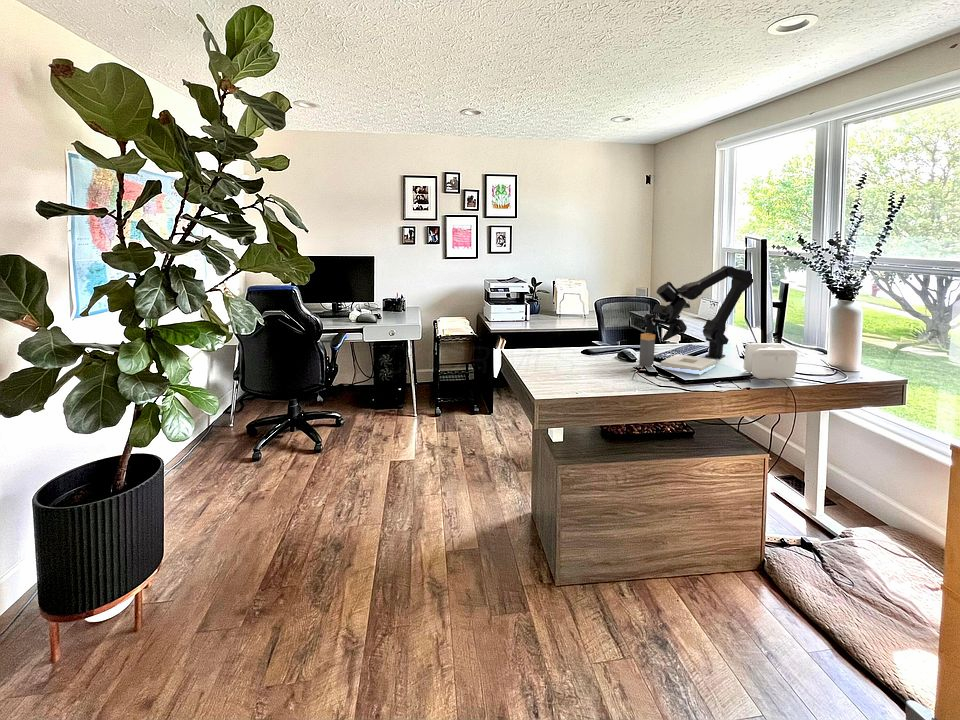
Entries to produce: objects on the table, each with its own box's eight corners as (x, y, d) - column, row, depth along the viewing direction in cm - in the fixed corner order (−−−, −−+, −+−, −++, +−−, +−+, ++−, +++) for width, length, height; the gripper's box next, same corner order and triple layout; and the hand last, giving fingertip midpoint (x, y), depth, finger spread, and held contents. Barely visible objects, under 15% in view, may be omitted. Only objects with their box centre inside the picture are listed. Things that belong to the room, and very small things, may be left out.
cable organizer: (782, 372, 217) (786, 343, 214) (795, 380, 207) (799, 349, 204) (742, 372, 218) (745, 343, 215) (752, 379, 208) (756, 349, 205)
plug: (645, 363, 233) (647, 332, 230) (653, 365, 230) (655, 334, 227) (639, 364, 231) (640, 334, 228) (646, 366, 228) (648, 335, 225)
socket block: (676, 360, 236) (677, 354, 236) (715, 366, 226) (715, 359, 225) (660, 368, 225) (660, 361, 224) (700, 375, 214) (701, 368, 214)
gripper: (648, 294, 236) (627, 323, 233) (684, 299, 221) (663, 330, 218) (659, 311, 242) (640, 339, 239) (695, 317, 227) (675, 347, 224)
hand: (653, 338), depth 230 cm, fingers open, 9 cm apart
